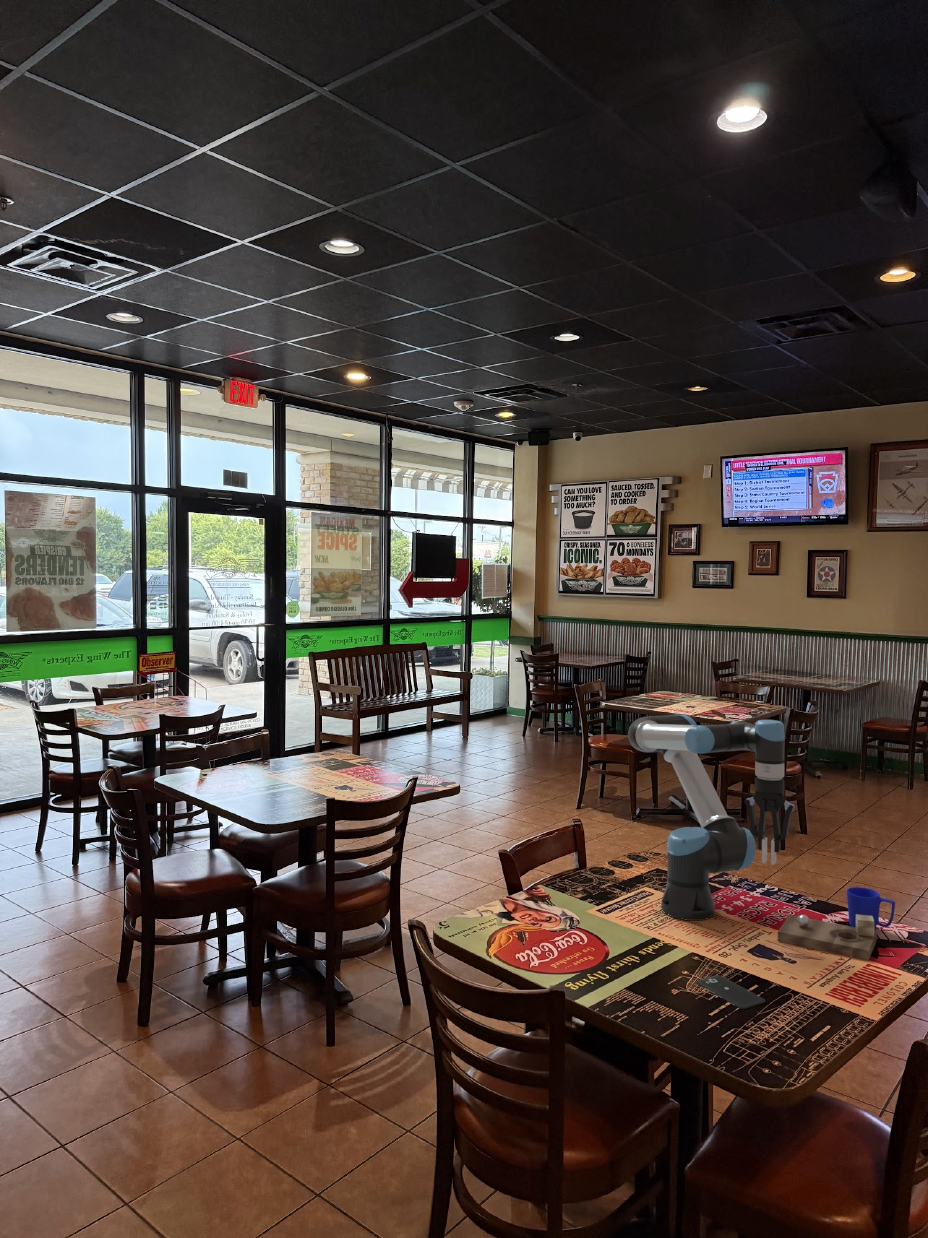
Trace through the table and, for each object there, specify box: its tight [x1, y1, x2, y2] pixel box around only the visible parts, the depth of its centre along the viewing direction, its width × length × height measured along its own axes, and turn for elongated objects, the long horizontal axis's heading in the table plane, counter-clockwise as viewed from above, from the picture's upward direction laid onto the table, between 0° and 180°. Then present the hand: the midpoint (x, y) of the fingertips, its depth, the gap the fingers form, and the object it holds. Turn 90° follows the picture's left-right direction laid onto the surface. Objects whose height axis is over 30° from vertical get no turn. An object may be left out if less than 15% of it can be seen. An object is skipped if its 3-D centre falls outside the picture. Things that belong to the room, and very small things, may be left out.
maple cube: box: [856, 914, 875, 937], centre depth 225 cm, size 4×4×4 cm
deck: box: [777, 914, 878, 961], centre depth 226 cm, size 22×14×2 cm, turn 57°
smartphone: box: [696, 974, 766, 1010], centre depth 198 cm, size 8×15×1 cm, turn 28°
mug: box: [846, 886, 896, 931], centre depth 233 cm, size 8×12×10 cm
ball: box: [797, 914, 810, 927], centre depth 229 cm, size 3×3×3 cm
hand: (769, 862), depth 233 cm, fingers open, 2 cm apart
